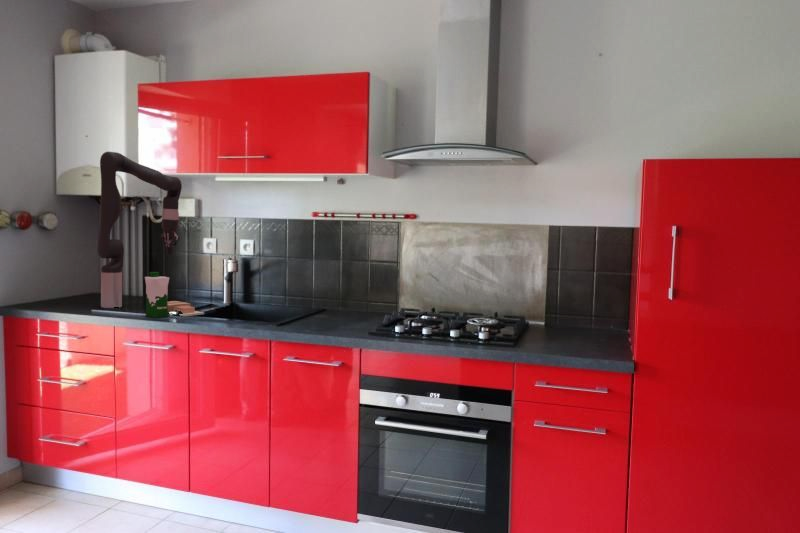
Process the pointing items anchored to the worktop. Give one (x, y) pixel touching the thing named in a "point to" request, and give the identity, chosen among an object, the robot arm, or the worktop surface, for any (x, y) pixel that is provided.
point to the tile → (184, 309)
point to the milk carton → (156, 295)
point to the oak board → (176, 304)
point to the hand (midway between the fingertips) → (169, 254)
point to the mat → (192, 313)
